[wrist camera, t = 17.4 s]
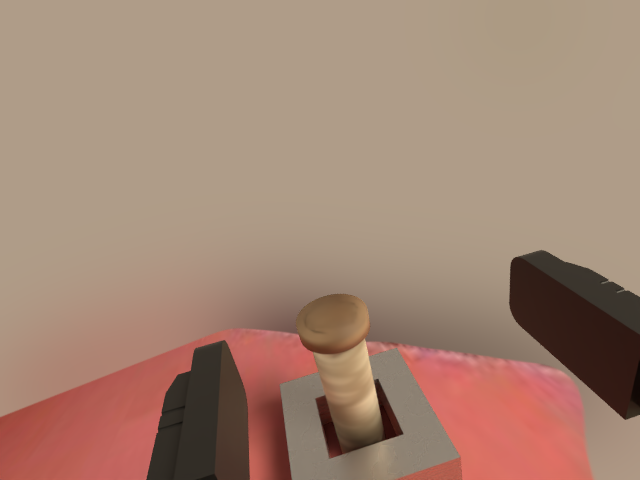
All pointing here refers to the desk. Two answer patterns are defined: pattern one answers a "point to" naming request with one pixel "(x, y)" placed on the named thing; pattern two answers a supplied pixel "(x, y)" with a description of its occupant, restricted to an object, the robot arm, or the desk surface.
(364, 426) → the wooden pin
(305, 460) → the socket block
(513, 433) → the desk surface
